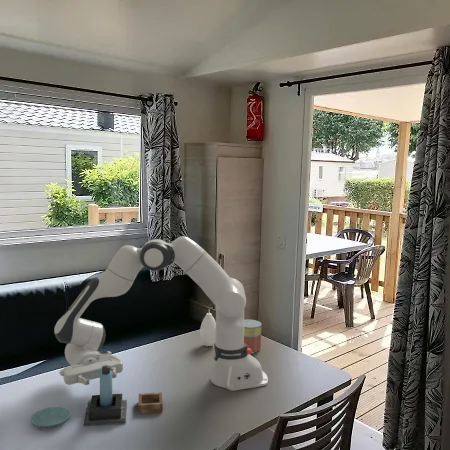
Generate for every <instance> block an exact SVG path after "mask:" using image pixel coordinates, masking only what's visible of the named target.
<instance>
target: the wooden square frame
mask: <svg viewBox="0 0 450 450" xmlns="http://www.w3.org/2000/svg"><path fill="white" fill-rule="evenodd" d="M137 404H138V406H137V407H138V415H143V414H144V415H145V414H146V415H147V414H156V413H157V414H158V413H161V414H162V413H163V408H164V405H163V404H164V402H163V393H162V392H148V393H147V392H145V393H138V403H137Z"/></svg>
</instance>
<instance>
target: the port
mask: <svg viewBox="0 0 450 450" xmlns="http://www.w3.org/2000/svg"><path fill="white" fill-rule="evenodd" d="M90 399H91V400H89V401H88V402H87V403H86V404H87V405H86V409H85V414H84V418H83V427H86V426H87V427H88V426H91V427H92V426H103V425H104V426H105V425H118V424H126V422H127V408H128V407H127V405H128V400H127V399H124V400H123V393H112V406H104V407H100V394H94V395H93V394H92V395H91V398H90Z"/></svg>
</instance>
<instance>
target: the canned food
mask: <svg viewBox="0 0 450 450" xmlns="http://www.w3.org/2000/svg"><path fill="white" fill-rule="evenodd" d="M262 324H263V323H262V322H261V321H259V320H256V319H252V318H250V319H249V318H248V319H247V318H246V319H245V318H244V343H245V344H246V345H247V346H248V347H249V348H250V349H251V350H252V352H256V351H259V350H260V348H261V347H262V346H261V345H262V344H261V343H262ZM260 351H261V350H260ZM260 351H259V352H260ZM256 353H257V352H256Z"/></svg>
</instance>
